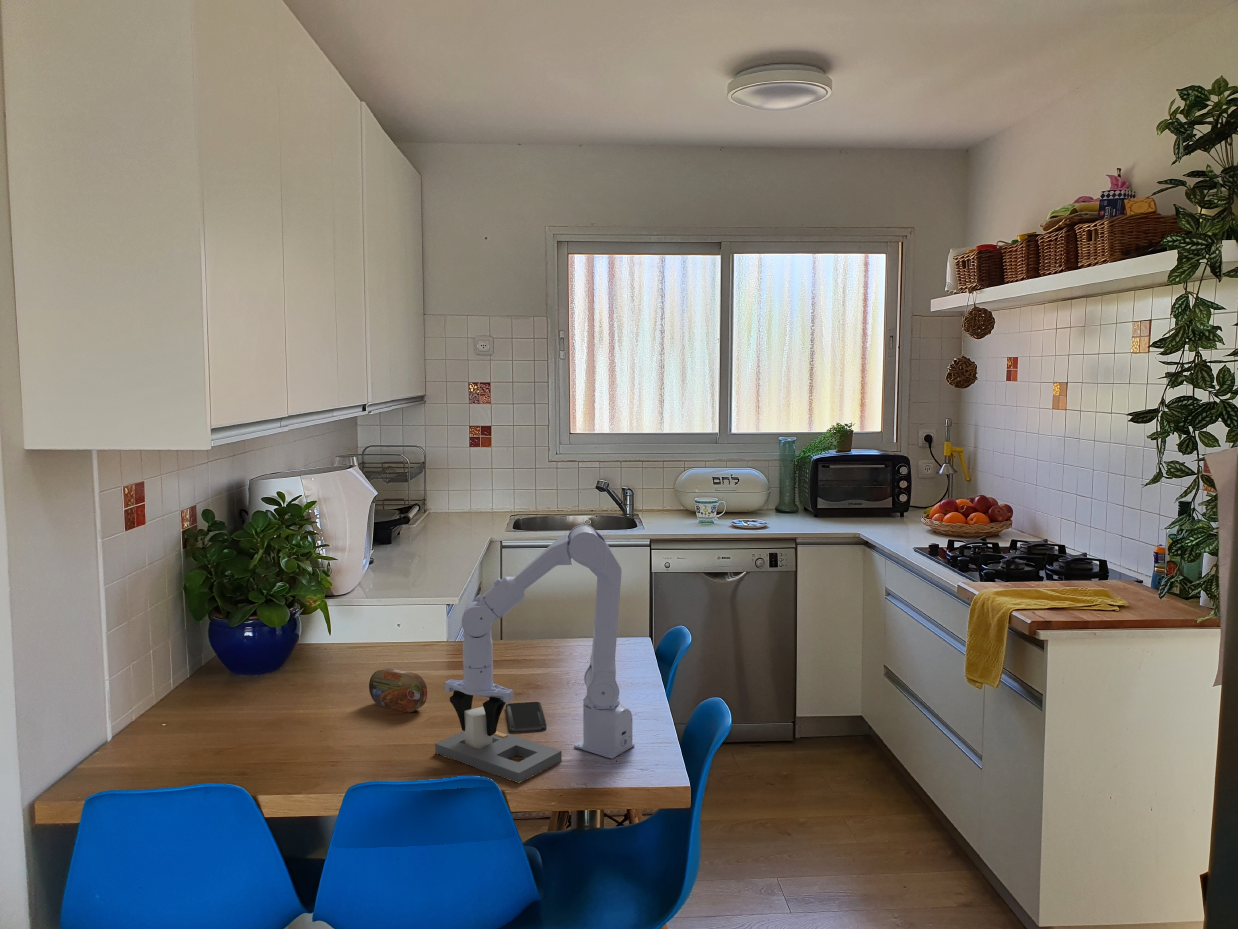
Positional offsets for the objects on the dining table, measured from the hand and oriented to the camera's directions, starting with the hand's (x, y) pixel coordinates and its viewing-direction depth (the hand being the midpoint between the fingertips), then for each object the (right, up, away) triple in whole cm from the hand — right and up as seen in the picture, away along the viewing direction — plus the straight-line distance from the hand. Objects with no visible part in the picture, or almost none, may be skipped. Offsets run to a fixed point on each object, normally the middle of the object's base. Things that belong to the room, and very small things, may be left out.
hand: (479, 731), depth 174 cm
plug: (0, -3, 0) cm, 3 cm away
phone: (+7, -3, +17) cm, 19 cm away
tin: (-22, -2, +23) cm, 32 cm away
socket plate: (+4, -4, -3) cm, 6 cm away
